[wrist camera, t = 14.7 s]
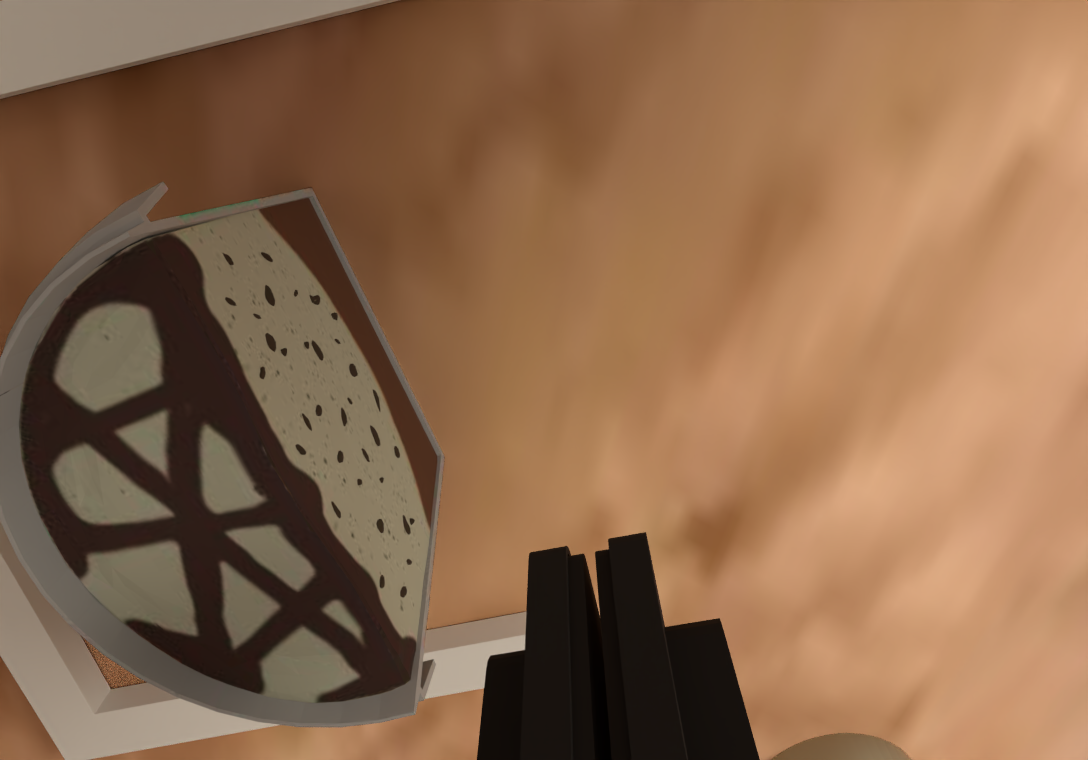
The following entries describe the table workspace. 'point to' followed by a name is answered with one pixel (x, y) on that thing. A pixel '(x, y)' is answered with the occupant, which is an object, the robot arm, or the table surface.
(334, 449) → the food container
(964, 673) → the table surface
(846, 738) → the pale green cylinder
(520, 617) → the corral
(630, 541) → the robot arm
